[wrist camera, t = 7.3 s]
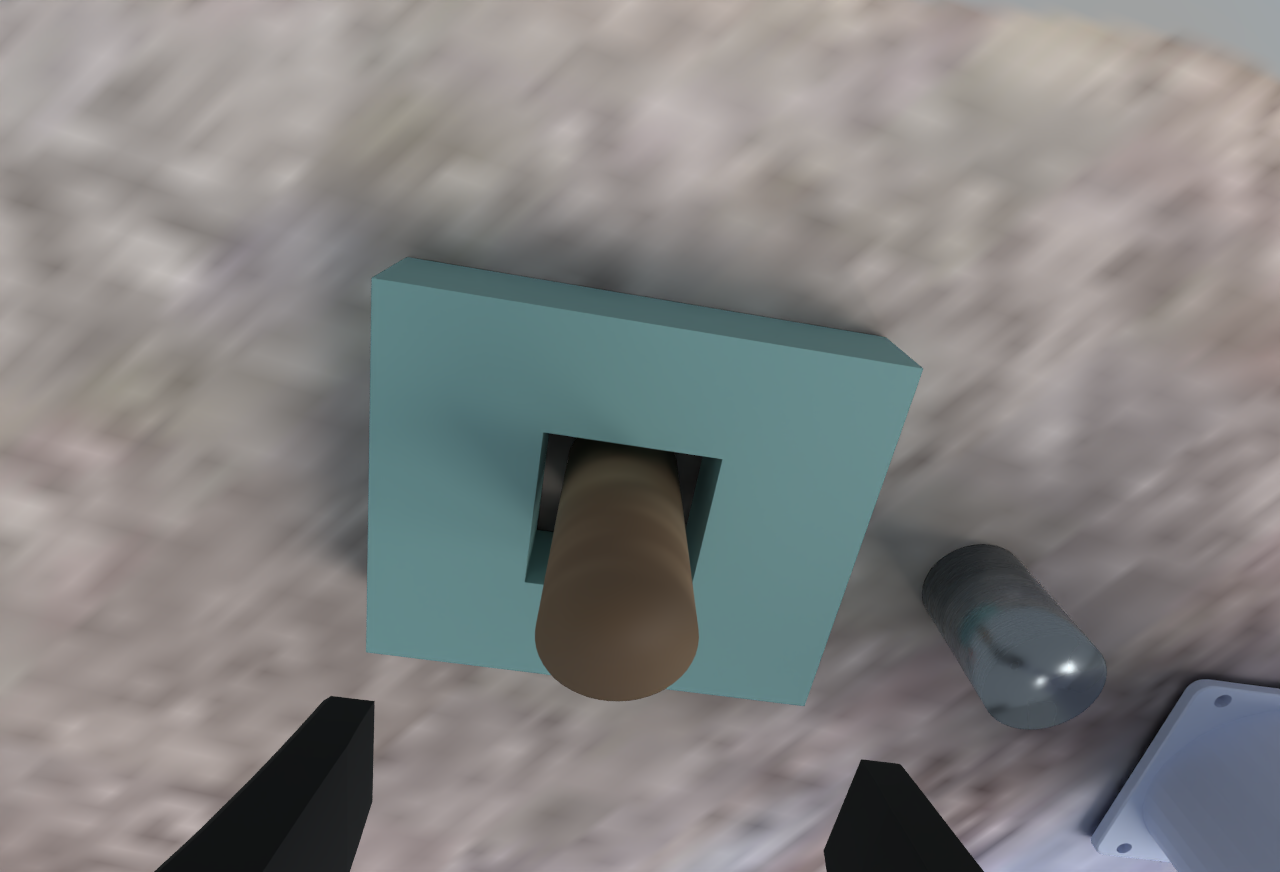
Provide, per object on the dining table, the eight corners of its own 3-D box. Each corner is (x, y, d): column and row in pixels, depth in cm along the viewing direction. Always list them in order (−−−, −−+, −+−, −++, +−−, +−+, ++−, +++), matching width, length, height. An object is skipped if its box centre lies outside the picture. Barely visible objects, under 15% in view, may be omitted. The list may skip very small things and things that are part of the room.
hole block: (885, 337, 18) (923, 368, 15) (786, 644, 22) (804, 706, 19) (406, 256, 17) (371, 277, 14) (395, 594, 21) (366, 652, 18)
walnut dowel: (689, 431, 19) (719, 589, 12) (660, 524, 20) (673, 713, 13) (580, 405, 18) (553, 555, 12) (557, 501, 20) (520, 684, 13)
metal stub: (1039, 551, 20) (1127, 644, 17) (1001, 632, 22) (1075, 735, 18) (941, 538, 20) (1010, 628, 17) (908, 620, 21) (965, 722, 18)
